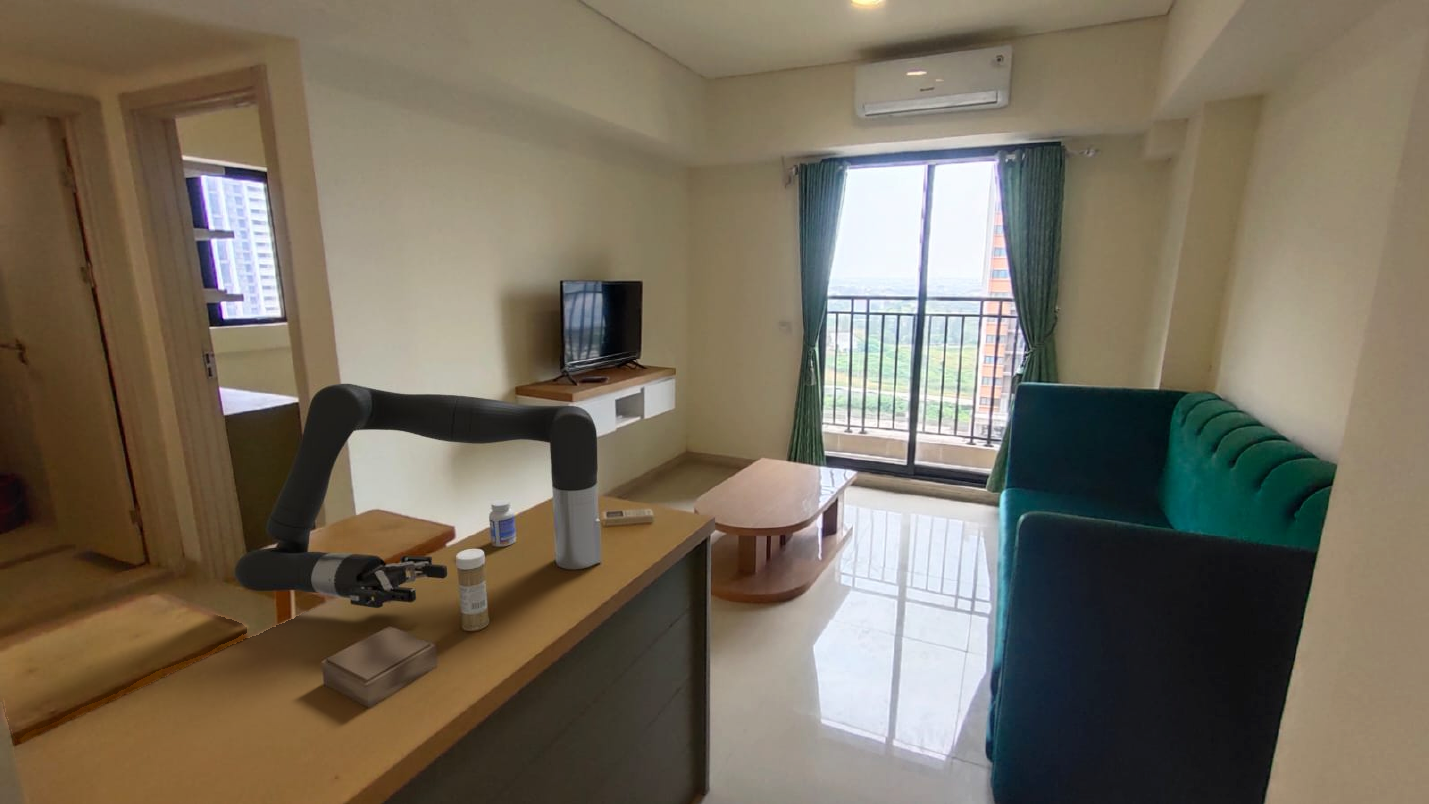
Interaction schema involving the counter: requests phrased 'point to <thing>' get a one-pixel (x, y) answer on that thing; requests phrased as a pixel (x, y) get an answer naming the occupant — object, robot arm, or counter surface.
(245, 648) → the counter surface
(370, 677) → the walnut plinth
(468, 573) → the sprinkles bottle
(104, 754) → the counter surface
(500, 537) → the pill bottle
